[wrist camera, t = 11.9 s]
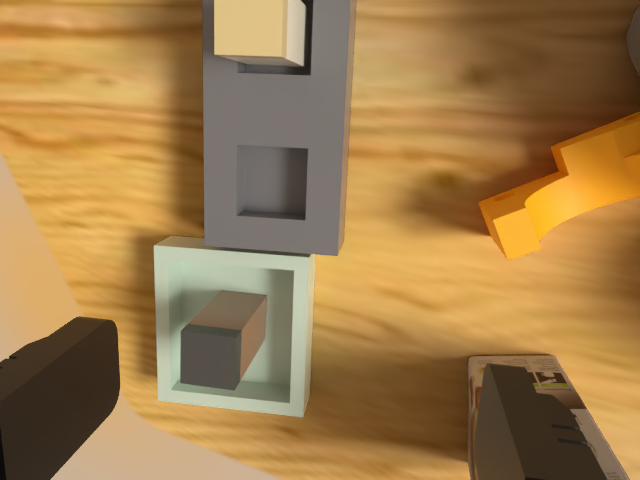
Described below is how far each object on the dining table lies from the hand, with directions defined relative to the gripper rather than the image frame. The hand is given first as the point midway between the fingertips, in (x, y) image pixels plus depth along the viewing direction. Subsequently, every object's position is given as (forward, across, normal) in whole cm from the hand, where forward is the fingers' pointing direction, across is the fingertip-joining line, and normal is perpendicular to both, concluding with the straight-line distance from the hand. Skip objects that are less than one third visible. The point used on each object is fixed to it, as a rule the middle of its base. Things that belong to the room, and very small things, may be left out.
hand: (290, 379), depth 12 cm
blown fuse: (+27, +9, +11) cm, 30 cm away
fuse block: (+28, +6, -4) cm, 29 cm away
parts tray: (+28, +9, +11) cm, 31 cm away
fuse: (+26, +6, -9) cm, 28 cm away
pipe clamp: (+28, -13, -1) cm, 31 cm away
